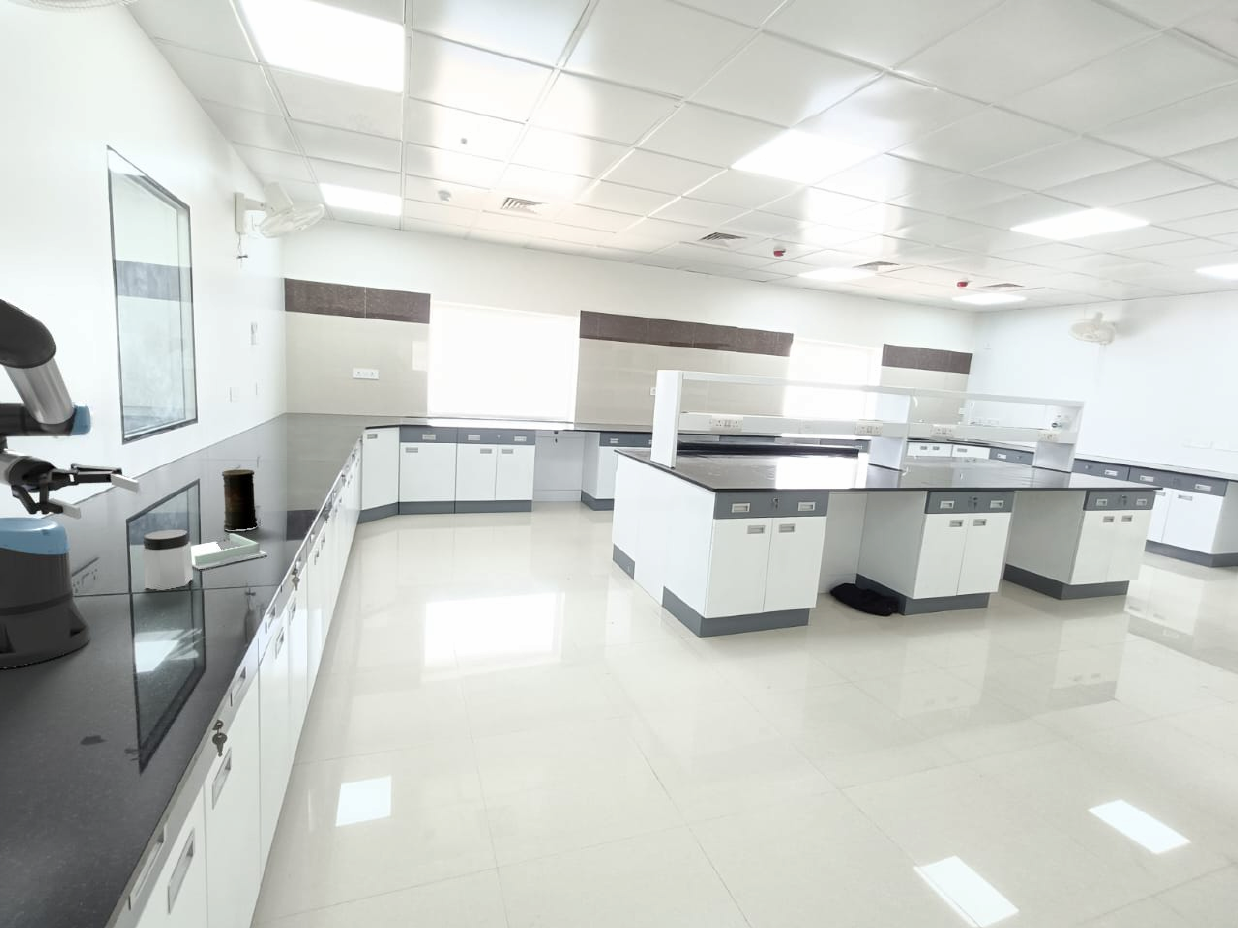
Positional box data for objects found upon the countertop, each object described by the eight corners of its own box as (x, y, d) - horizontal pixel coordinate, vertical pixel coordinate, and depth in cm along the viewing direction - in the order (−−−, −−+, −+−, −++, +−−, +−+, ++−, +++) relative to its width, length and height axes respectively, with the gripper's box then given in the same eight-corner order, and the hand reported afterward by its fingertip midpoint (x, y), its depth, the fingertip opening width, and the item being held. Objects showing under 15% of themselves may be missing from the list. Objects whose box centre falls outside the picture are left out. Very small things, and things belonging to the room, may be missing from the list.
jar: (157, 578, 140) (153, 529, 139) (197, 576, 143) (194, 528, 141) (139, 592, 132) (135, 540, 130) (182, 590, 134) (179, 538, 133)
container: (226, 525, 186) (223, 469, 183) (259, 523, 190) (256, 468, 187) (221, 533, 178) (217, 474, 175) (256, 531, 182) (253, 473, 179)
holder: (266, 555, 160) (266, 544, 160) (199, 570, 147) (198, 558, 146) (231, 541, 171) (230, 531, 170) (165, 554, 158) (164, 543, 157)
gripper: (82, 466, 146) (160, 490, 144) (-38, 511, 123) (53, 541, 121) (78, 439, 143) (158, 463, 141) (-46, 479, 120) (47, 509, 118)
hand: (110, 499), depth 131 cm, fingers open, 13 cm apart
